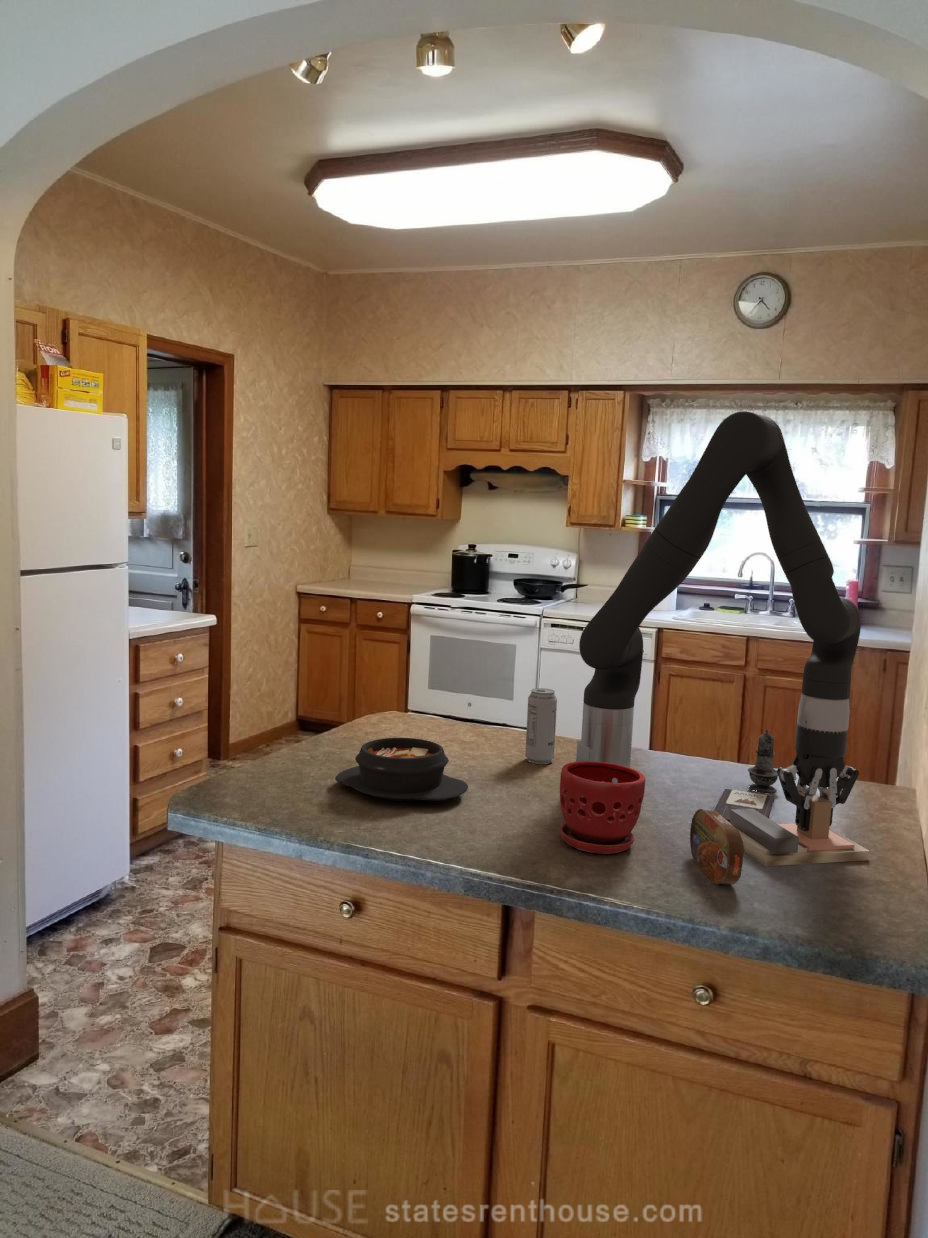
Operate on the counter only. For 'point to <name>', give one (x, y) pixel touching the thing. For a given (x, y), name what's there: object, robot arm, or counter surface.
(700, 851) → the tin
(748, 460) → the robot arm
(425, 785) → the casserole
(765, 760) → the stone finial
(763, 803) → the chocolate bar
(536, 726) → the energy drink can
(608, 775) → the plant pot
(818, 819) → the tan block on plate
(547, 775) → the counter surface
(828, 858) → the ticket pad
